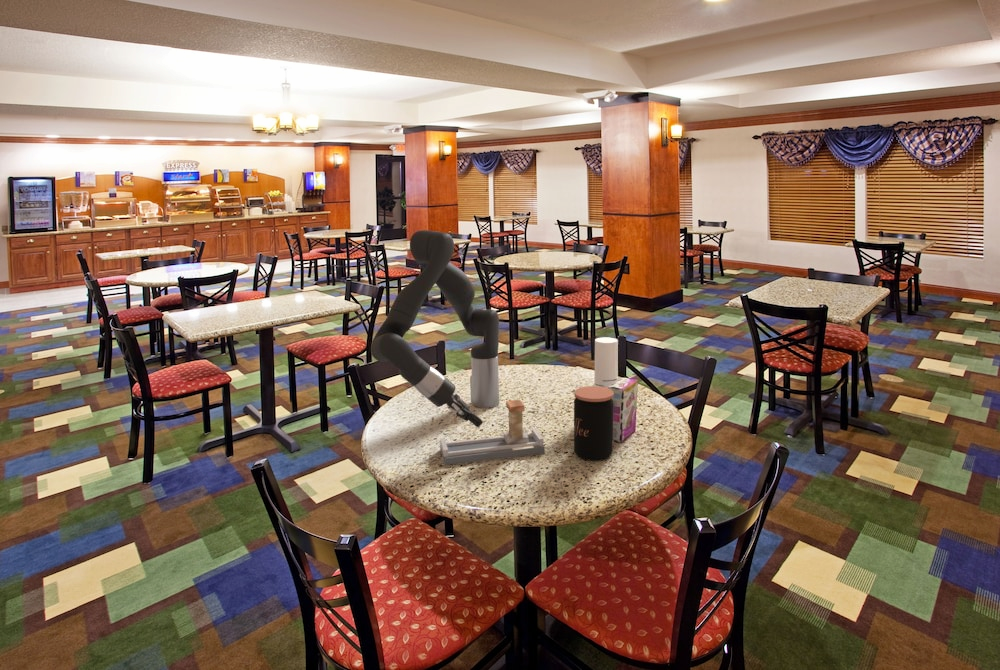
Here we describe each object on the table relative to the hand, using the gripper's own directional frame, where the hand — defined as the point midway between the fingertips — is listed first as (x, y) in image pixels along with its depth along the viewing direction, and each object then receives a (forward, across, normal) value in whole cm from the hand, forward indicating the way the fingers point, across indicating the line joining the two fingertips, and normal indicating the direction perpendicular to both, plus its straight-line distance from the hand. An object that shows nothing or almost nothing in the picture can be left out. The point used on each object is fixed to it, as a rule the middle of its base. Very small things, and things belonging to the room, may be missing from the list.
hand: (480, 423), depth 167 cm
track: (+8, 0, +4) cm, 9 cm away
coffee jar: (+28, -9, -15) cm, 33 cm away
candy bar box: (+37, +1, -24) cm, 44 cm away
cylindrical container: (+38, +18, -25) cm, 49 cm away
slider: (+12, 0, -3) cm, 12 cm away
